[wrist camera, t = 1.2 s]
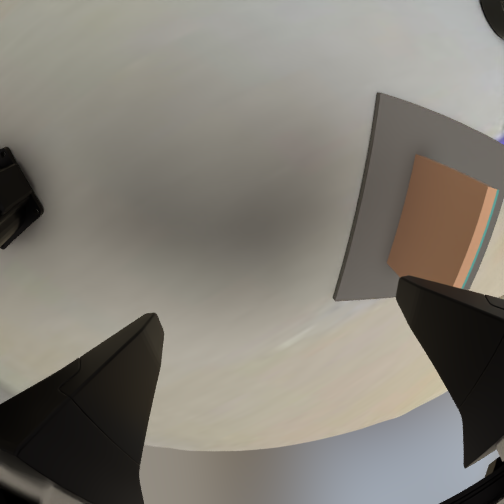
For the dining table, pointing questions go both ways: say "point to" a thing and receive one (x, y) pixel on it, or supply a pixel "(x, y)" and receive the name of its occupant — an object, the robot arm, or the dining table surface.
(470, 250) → the tile
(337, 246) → the dining table surface
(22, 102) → the dining table surface
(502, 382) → the robot arm
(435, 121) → the mat
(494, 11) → the supplement bottle
